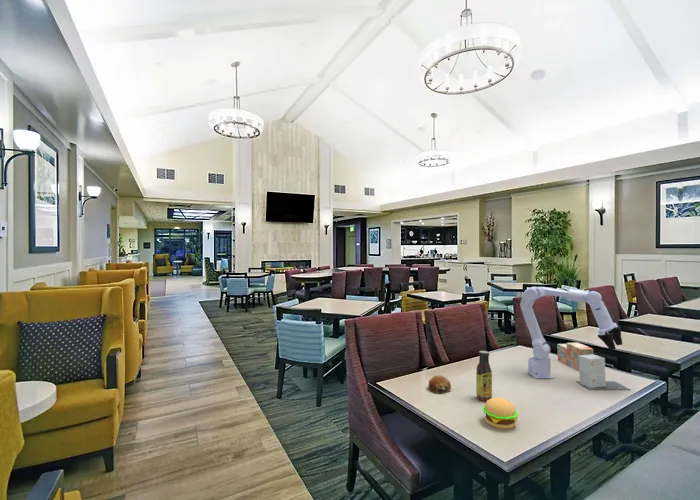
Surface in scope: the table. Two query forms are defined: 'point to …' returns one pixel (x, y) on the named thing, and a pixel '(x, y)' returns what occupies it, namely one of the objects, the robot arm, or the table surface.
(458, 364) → the table surface
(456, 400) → the table surface
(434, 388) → the bread roll
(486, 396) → the sauce bottle
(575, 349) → the stack of blocks
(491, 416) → the hamburger
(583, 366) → the small box
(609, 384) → the mat
